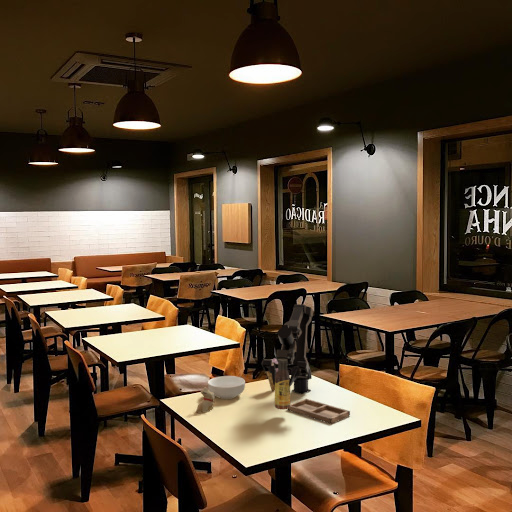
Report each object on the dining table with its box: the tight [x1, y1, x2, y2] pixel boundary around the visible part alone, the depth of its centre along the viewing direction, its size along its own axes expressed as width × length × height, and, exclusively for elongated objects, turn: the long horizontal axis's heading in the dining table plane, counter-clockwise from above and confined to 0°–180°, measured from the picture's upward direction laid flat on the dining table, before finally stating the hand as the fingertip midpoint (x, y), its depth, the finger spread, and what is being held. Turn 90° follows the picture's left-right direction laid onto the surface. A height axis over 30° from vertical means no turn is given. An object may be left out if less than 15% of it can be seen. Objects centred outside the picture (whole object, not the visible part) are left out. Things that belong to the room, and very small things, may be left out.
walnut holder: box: [286, 398, 351, 425], centre depth 231 cm, size 12×23×2 cm, turn 44°
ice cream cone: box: [266, 357, 278, 392], centre depth 261 cm, size 7×6×15 cm
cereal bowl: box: [207, 375, 246, 400], centre depth 255 cm, size 17×17×7 cm
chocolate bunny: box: [196, 386, 215, 413], centre depth 237 cm, size 6×8×10 cm
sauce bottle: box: [274, 358, 291, 411], centre depth 227 cm, size 6×6×20 cm
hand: (281, 385), depth 226 cm, fingers closed on sauce bottle, 6 cm apart
